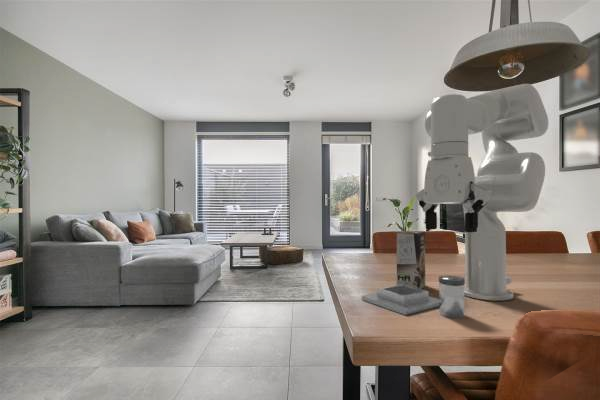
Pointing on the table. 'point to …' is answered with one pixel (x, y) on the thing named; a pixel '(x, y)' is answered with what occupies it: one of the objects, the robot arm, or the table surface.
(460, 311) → the grey jar with lid
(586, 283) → the table surface
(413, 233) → the coffee box
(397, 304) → the collar
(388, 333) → the table surface
